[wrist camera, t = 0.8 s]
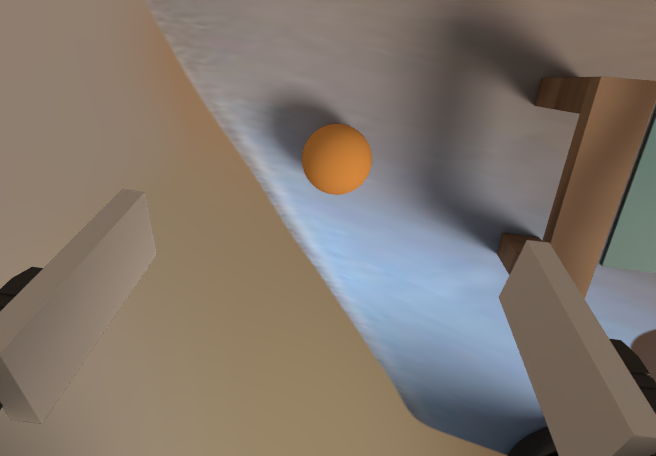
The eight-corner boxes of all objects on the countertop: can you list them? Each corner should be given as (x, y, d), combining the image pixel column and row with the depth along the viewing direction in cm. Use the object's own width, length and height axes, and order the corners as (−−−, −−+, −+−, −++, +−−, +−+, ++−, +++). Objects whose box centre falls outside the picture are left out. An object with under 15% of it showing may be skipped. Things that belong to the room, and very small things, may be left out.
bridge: (584, 81, 29) (662, 81, 21) (532, 258, 35) (578, 316, 26) (541, 77, 30) (601, 76, 21) (497, 254, 35) (530, 309, 26)
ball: (369, 188, 35) (365, 207, 30) (307, 181, 35) (293, 198, 30) (377, 124, 33) (374, 131, 28) (311, 117, 33) (296, 124, 28)
